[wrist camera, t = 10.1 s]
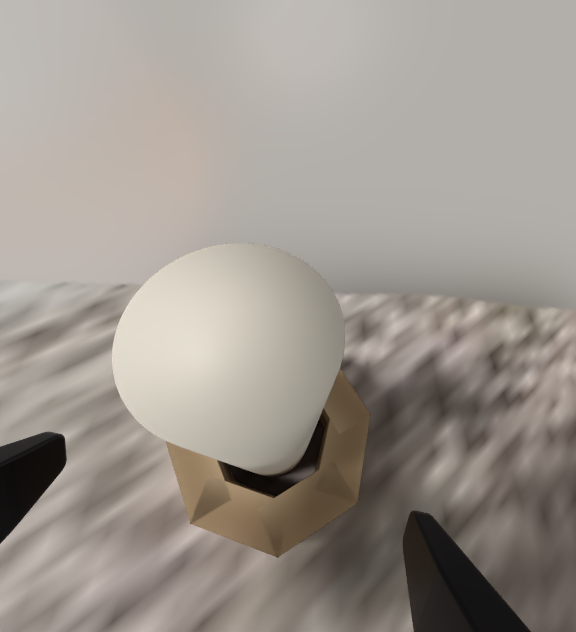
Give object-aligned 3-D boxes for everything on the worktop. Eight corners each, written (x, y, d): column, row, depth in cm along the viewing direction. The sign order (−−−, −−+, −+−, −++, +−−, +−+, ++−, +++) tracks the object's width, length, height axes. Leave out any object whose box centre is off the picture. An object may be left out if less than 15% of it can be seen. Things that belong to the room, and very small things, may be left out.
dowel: (314, 470, 17) (372, 431, 5) (236, 481, 17) (88, 471, 4) (302, 393, 19) (321, 234, 7) (233, 402, 19) (130, 253, 7)
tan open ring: (335, 566, 15) (345, 584, 12) (158, 499, 16) (133, 501, 14) (366, 380, 19) (378, 364, 17) (227, 342, 21) (219, 321, 18)
